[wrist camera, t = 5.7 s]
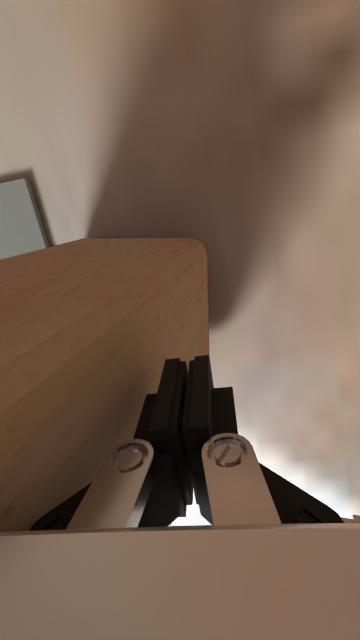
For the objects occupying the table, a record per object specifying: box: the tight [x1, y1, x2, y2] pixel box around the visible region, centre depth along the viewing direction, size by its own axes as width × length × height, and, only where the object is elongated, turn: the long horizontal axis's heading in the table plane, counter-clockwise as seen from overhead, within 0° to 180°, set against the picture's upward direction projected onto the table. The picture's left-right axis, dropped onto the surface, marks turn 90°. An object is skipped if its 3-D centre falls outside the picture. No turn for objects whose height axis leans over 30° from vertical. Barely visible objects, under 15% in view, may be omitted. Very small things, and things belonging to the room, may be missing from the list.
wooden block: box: [0, 238, 209, 532], centre depth 16 cm, size 10×10×20 cm
